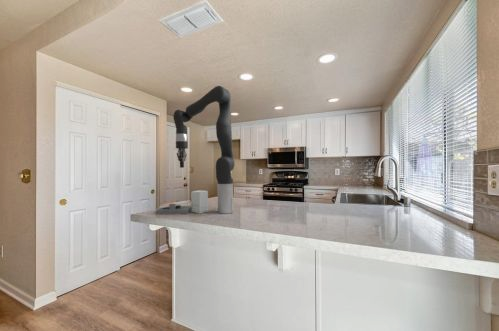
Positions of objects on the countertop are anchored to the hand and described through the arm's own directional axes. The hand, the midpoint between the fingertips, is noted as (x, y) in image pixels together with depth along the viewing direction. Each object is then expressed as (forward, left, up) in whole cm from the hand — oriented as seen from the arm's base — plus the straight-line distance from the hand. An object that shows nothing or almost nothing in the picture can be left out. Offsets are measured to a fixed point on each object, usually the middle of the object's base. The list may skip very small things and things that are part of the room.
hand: (181, 167), depth 143 cm
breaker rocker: (+1, +10, -22) cm, 24 cm away
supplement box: (-14, +10, -27) cm, 32 cm away
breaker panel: (+1, +10, -27) cm, 29 cm away
